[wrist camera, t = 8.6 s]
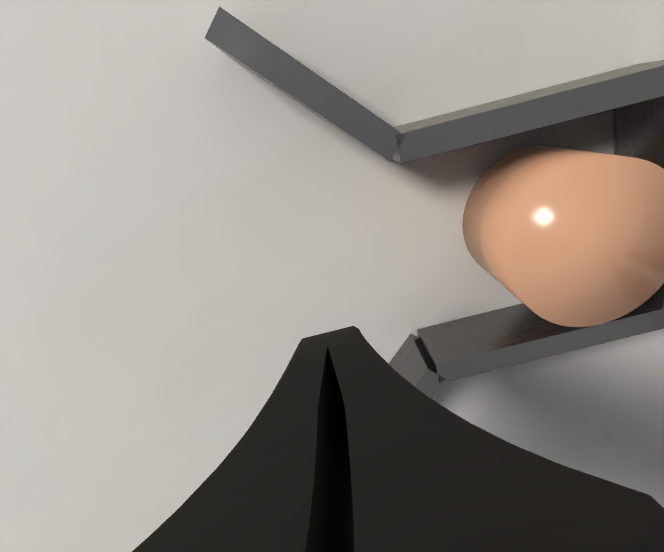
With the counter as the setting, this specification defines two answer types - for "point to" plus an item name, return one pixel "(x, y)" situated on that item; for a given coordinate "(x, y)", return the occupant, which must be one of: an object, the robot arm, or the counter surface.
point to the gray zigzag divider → (461, 131)
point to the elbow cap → (570, 231)
